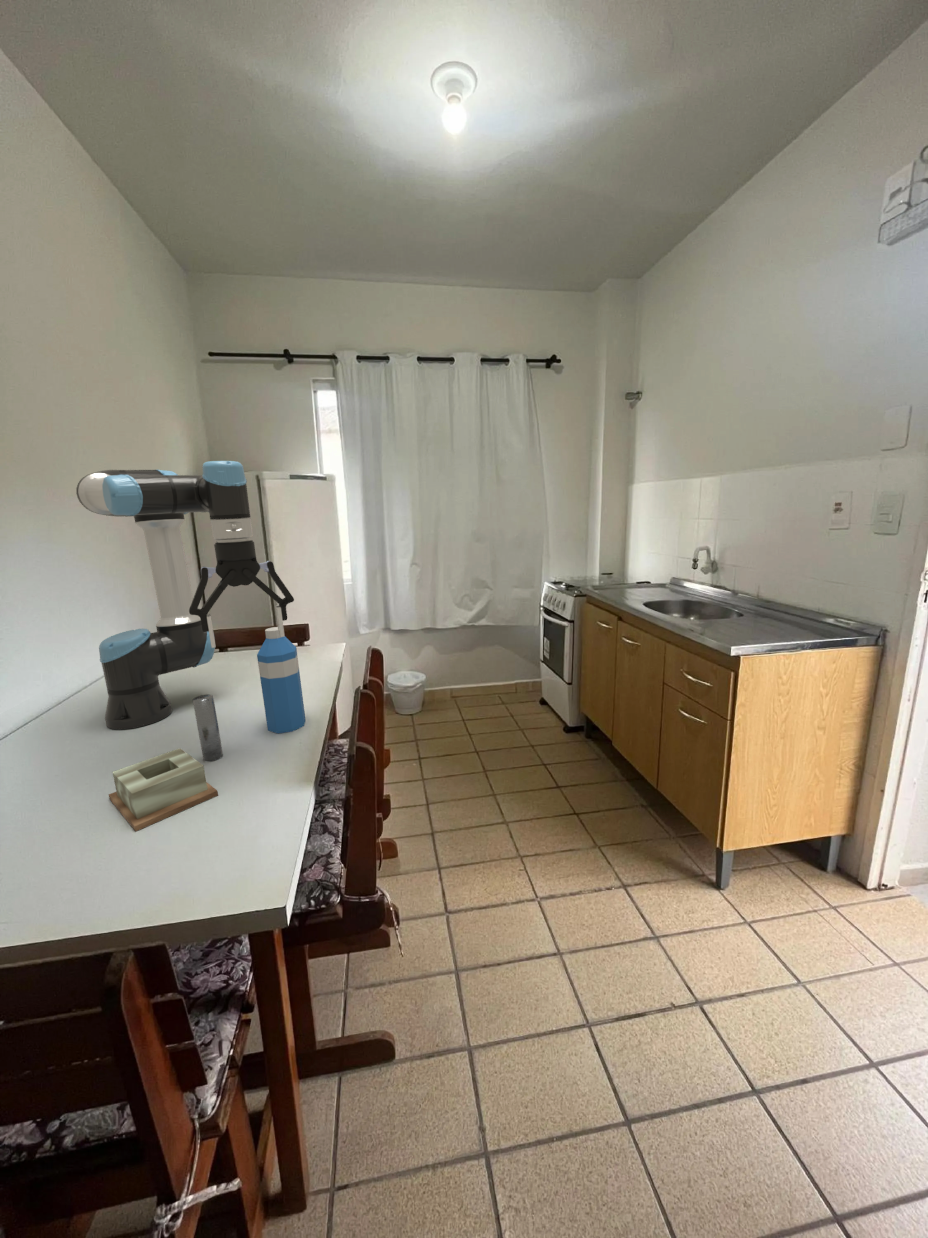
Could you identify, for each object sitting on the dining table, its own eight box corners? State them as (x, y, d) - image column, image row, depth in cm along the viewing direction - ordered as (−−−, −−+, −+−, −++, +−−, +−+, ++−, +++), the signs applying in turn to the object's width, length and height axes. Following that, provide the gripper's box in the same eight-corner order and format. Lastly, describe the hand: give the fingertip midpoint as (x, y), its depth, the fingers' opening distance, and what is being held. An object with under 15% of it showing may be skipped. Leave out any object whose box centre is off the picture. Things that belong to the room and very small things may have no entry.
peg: (200, 758, 113) (189, 698, 110) (218, 751, 116) (208, 693, 113) (207, 763, 111) (197, 703, 108) (226, 756, 114) (216, 697, 110)
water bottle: (294, 734, 123) (281, 634, 117) (259, 732, 125) (244, 633, 119) (313, 718, 132) (301, 624, 126) (280, 717, 134) (267, 624, 128)
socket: (109, 799, 99) (103, 770, 97) (186, 769, 109) (181, 743, 107) (135, 831, 88) (128, 800, 87) (218, 795, 98) (213, 766, 97)
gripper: (163, 546, 95) (182, 655, 100) (300, 536, 107) (311, 634, 111) (164, 544, 102) (182, 646, 106) (293, 535, 113) (304, 628, 118)
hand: (248, 640), depth 109 cm, fingers open, 13 cm apart
